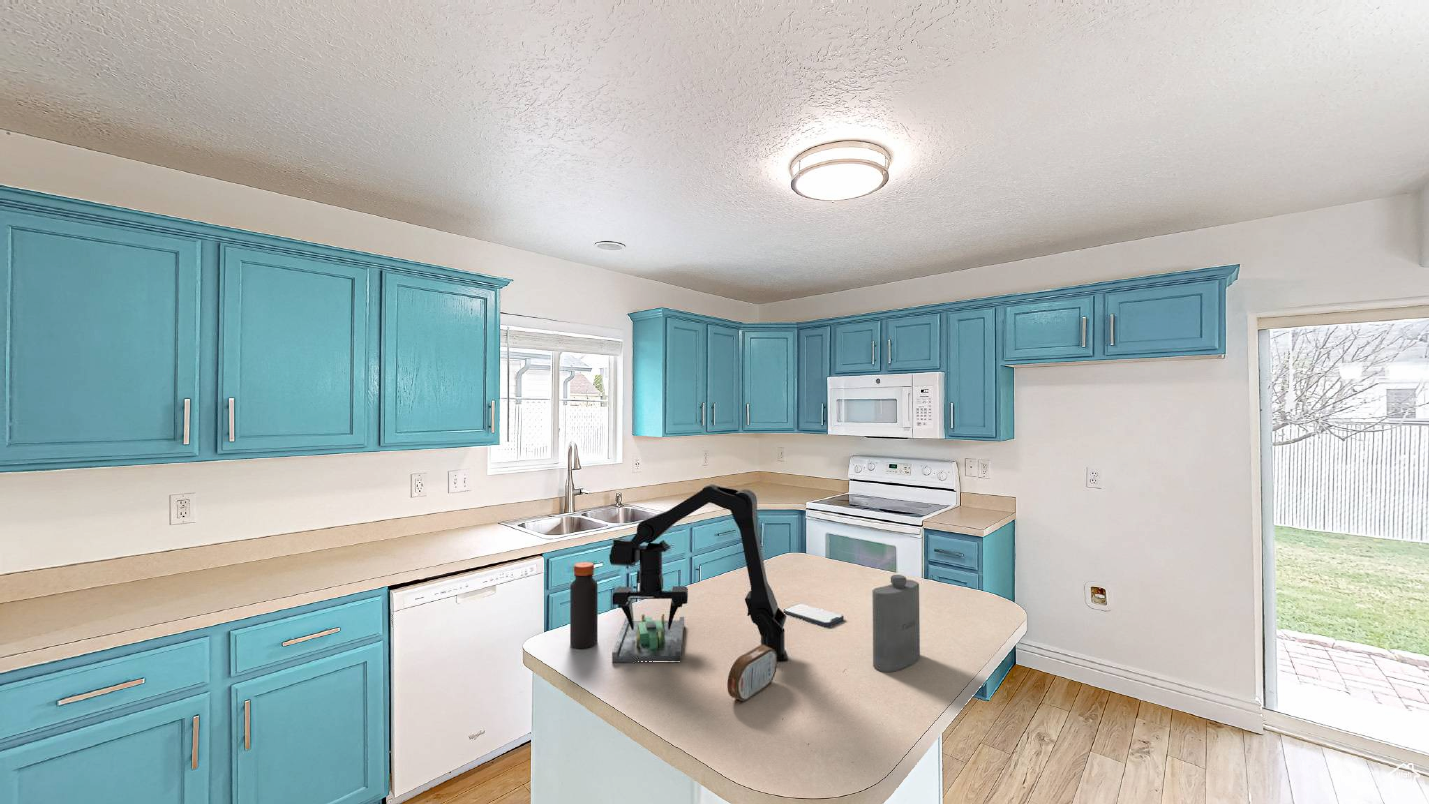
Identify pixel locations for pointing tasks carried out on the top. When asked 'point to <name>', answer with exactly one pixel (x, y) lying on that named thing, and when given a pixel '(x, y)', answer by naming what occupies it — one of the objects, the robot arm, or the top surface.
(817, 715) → the top surface
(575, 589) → the bottle
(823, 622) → the phone case
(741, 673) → the tin
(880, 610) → the flask
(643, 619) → the chassis
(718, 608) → the top surface
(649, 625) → the green block piece
